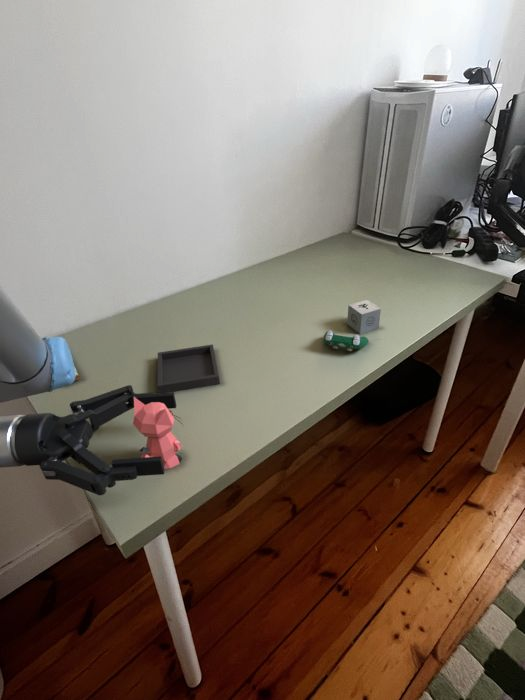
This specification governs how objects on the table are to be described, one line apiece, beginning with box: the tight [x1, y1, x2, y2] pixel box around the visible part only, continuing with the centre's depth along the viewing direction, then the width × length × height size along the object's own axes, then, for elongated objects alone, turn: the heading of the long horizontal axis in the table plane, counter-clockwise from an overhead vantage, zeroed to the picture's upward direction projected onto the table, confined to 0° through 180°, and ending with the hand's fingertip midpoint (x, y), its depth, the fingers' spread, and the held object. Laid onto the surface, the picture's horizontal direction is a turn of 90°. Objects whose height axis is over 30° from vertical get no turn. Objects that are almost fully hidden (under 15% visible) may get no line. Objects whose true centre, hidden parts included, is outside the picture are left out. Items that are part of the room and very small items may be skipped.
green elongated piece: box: [323, 330, 369, 352], centre depth 91 cm, size 9×4×6 cm
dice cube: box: [346, 299, 382, 335], centre depth 97 cm, size 5×5×5 cm
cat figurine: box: [132, 397, 184, 470], centre depth 64 cm, size 7×7×12 cm
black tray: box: [156, 344, 221, 393], centre depth 87 cm, size 12×12×2 cm
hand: (169, 429), depth 64 cm, fingers open, 13 cm apart
